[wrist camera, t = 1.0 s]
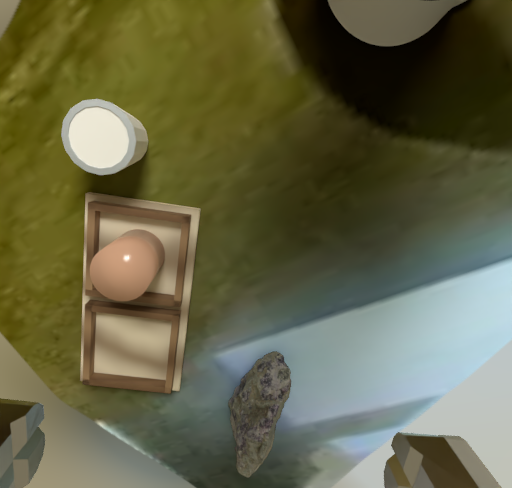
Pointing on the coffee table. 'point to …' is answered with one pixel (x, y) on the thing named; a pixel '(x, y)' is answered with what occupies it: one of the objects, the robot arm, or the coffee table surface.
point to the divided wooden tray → (145, 306)
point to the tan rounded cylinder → (127, 265)
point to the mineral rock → (258, 410)
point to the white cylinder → (103, 137)
